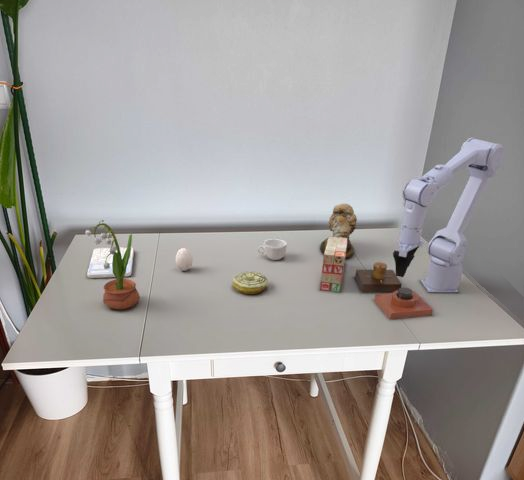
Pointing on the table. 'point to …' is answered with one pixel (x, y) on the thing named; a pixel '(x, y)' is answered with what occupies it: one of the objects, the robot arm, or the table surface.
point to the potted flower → (117, 273)
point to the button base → (402, 305)
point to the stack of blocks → (333, 264)
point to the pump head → (405, 293)
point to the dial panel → (377, 282)
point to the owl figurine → (342, 226)
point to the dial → (379, 270)
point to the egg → (184, 259)
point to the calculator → (99, 259)
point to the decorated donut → (250, 282)
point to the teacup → (274, 248)
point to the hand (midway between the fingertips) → (402, 270)
